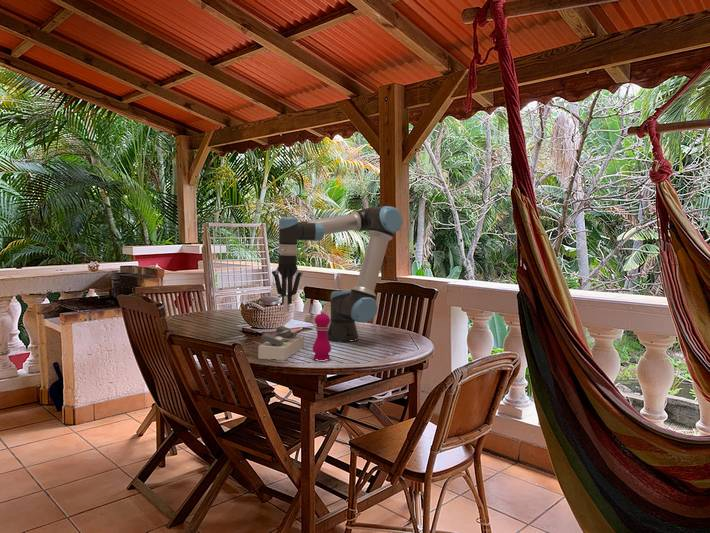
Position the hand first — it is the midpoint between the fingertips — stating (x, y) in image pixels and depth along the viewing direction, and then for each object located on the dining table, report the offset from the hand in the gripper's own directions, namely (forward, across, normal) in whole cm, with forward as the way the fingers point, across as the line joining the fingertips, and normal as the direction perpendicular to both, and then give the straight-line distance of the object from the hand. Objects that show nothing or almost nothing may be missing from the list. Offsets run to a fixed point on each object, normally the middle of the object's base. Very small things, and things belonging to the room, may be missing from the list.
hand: (286, 311), depth 225 cm
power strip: (+17, -2, +3) cm, 18 cm away
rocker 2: (+10, -3, 0) cm, 11 cm away
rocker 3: (+10, -3, +8) cm, 13 cm away
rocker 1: (+10, -3, -8) cm, 13 cm away
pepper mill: (+18, +17, -6) cm, 25 cm away
